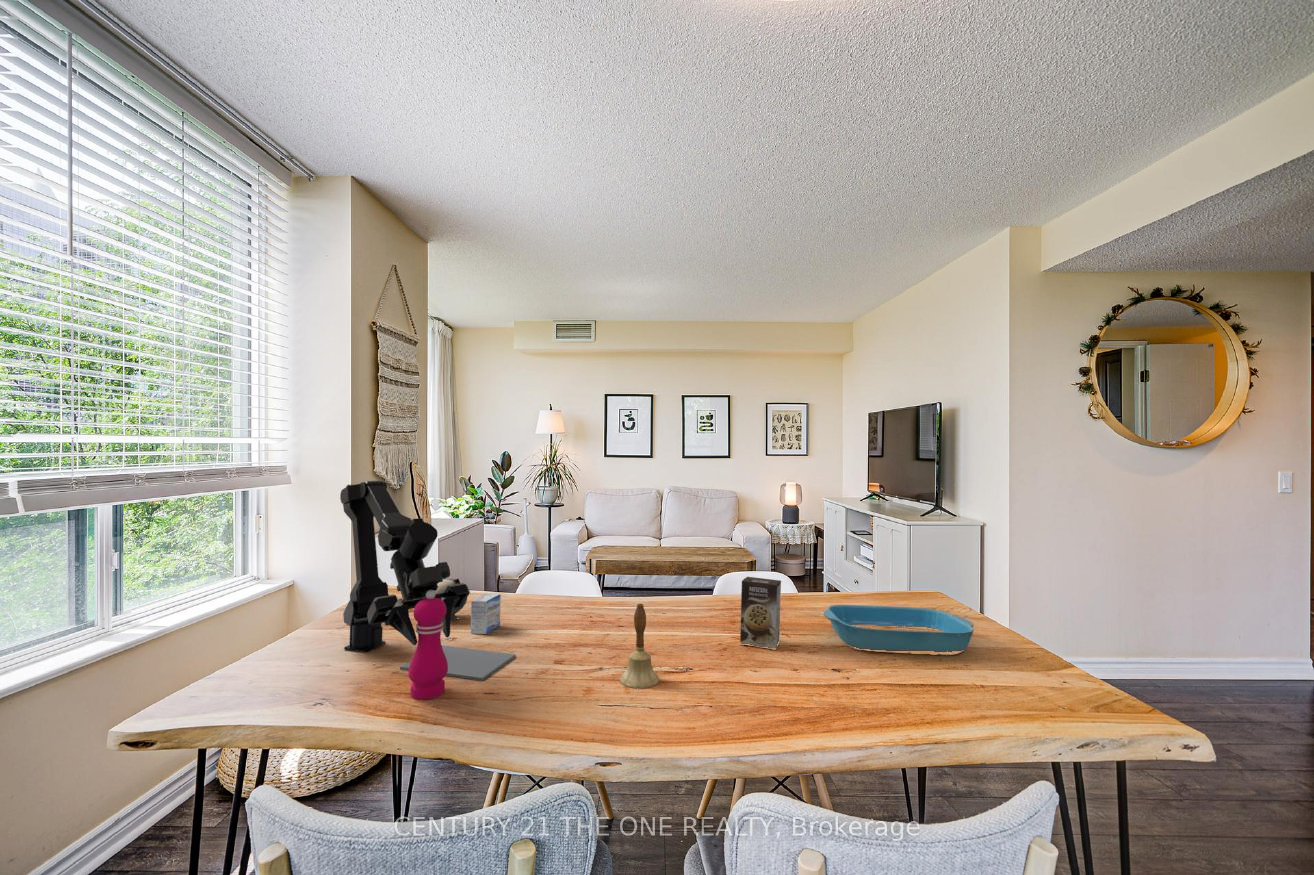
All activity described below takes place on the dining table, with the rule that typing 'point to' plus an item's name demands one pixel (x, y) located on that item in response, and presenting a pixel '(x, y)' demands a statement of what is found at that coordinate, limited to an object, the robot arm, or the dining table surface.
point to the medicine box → (485, 613)
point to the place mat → (471, 662)
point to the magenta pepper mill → (428, 649)
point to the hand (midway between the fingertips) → (432, 640)
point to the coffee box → (760, 612)
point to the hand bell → (639, 658)
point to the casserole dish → (899, 640)
